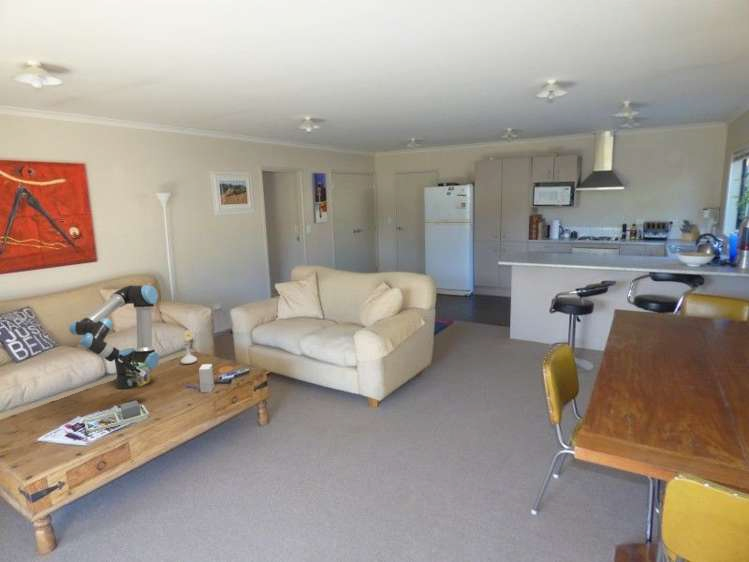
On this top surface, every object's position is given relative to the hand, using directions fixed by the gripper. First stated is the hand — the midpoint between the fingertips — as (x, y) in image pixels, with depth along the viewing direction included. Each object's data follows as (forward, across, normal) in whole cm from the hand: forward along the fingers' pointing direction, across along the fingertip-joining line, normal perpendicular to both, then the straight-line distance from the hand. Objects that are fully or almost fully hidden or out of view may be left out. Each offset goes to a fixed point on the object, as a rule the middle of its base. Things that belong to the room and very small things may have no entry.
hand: (142, 371), depth 268 cm
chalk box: (+3, 0, -7) cm, 8 cm away
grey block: (+5, +17, -21) cm, 27 cm away
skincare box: (+38, +7, +10) cm, 40 cm away
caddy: (+1, +17, -26) cm, 31 cm away
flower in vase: (+42, -51, +14) cm, 67 cm away
